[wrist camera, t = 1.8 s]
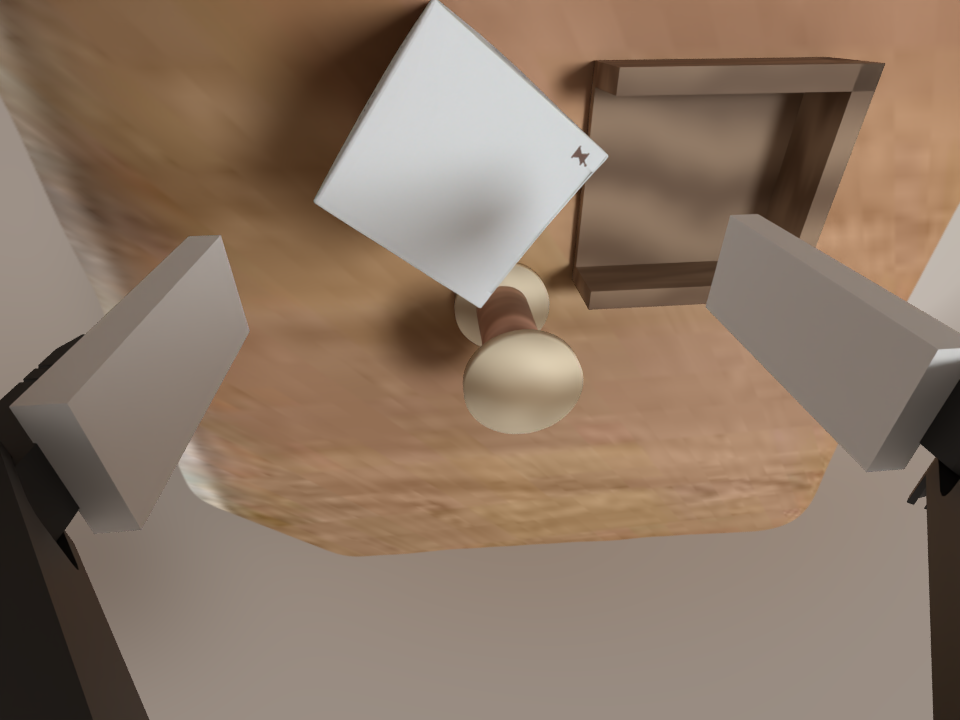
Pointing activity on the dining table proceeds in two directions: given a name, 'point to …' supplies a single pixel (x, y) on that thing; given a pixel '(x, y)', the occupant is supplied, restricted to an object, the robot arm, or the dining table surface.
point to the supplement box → (457, 159)
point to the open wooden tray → (708, 165)
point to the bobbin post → (517, 358)
